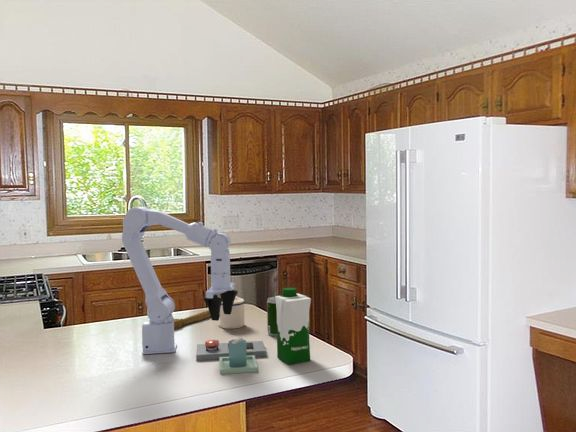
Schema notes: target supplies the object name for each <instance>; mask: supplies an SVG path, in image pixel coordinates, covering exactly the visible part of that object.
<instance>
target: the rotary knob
mask: <svg viewBox="0 0 576 432" xmlns="http://www.w3.org/2000/svg"><path fill="white" fill-rule="evenodd" d="M246 342H247V340H245V339H244V338H243V337H238V338H235V339H232V340H229V341H228V343H229V349H228V350H229V366H230V367H233V368H237V367H244V366H246V365H247V355H246V351H247V348H246Z"/></svg>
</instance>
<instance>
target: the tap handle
mask: <svg viewBox="0 0 576 432" xmlns="http://www.w3.org/2000/svg"><path fill="white" fill-rule="evenodd" d="M209 318H211V315H210V312H209V309H208V310H205V311H201V312H198V313H195V314H193V315H189V316H187V317H185V318H174V331H175V330H178V329H181V328H183V327H184V326H186V325H189V324H192V323H196V322H200V321H203V320H206V319H209Z"/></svg>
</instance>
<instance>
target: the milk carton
mask: <svg viewBox="0 0 576 432" xmlns="http://www.w3.org/2000/svg"><path fill="white" fill-rule="evenodd" d="M274 297H275V299H276V308H277V336H276V337H277V338H276V346H277V348H276V350H277V356H276V357H277V359H279V360H281V361H282V362H284V363H285V364H287V365H289V366H290V365H294V364H299V363H306V362H311V350H310V349H311V348H310V346H311V345H310V308H311V303H312V298H310V297H308V296H307V295H304V294H301V293H297V288H296V287H294V286H293V287H289V286H288V287H283V288H282V294H279V295H275V296H274Z"/></svg>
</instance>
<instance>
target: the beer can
mask: <svg viewBox="0 0 576 432" xmlns="http://www.w3.org/2000/svg"><path fill="white" fill-rule="evenodd" d="M266 314H267V316H266V319H267V322H266V323H267V328H266V329H267V333H268V334H267V335H269V336H271V337H277V308H276V299H275V296H271V297H267V301H266Z"/></svg>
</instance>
